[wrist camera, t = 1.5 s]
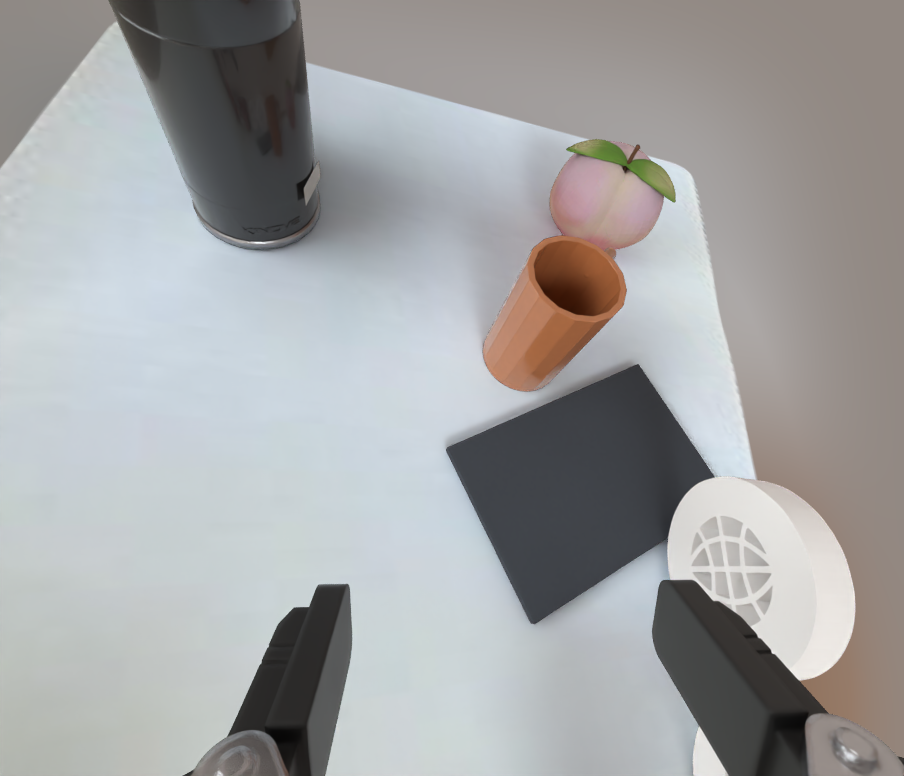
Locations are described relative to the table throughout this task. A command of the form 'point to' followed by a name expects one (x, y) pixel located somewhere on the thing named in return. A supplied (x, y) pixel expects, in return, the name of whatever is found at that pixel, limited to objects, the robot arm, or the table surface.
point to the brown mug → (553, 311)
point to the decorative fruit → (609, 194)
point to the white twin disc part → (765, 574)
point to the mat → (578, 486)
